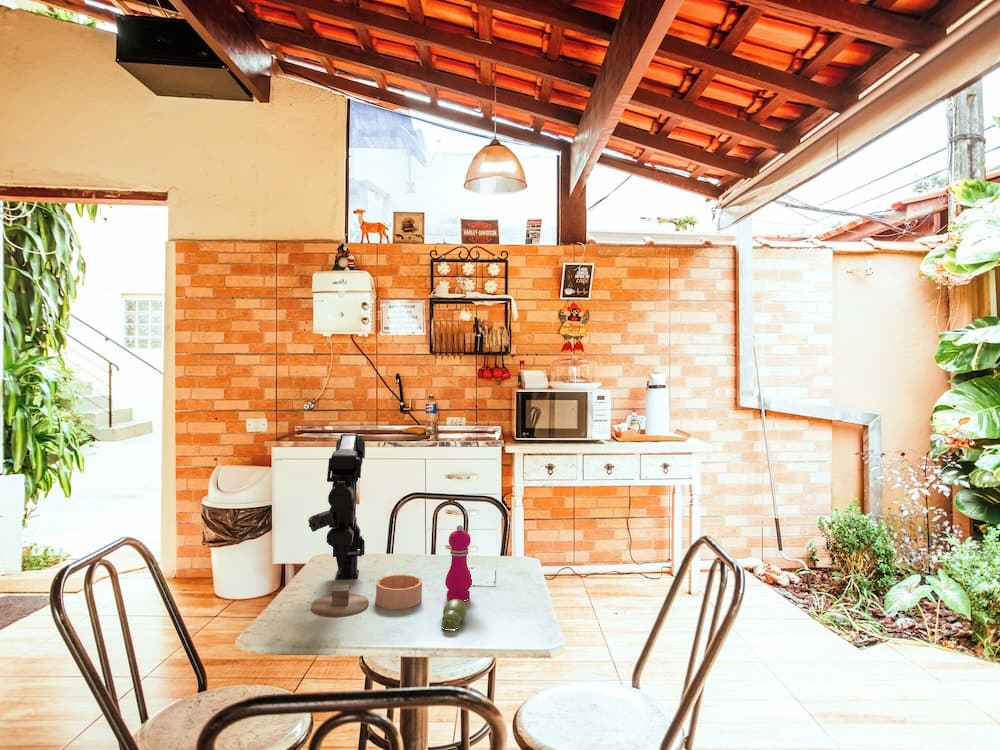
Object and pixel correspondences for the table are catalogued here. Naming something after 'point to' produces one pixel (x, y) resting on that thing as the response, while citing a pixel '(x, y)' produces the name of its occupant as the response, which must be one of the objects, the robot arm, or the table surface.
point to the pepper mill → (459, 566)
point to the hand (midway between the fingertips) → (341, 561)
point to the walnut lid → (340, 603)
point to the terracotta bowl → (398, 591)
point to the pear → (453, 614)
